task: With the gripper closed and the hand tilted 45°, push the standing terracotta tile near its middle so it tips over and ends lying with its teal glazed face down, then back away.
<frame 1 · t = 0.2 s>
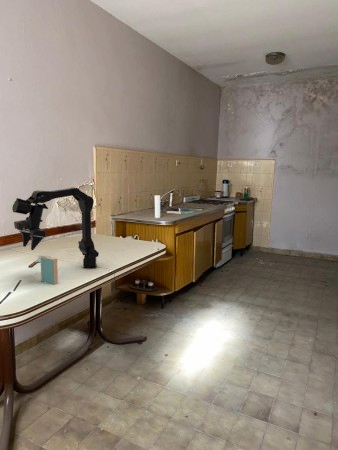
hand: (28, 248, 156), 16 cm above the table, tool pointing down, fingers open, 9 cm apart
glazed tile: (49, 282, 155), on the table
kitchen cleaver: (41, 262, 190), on the table
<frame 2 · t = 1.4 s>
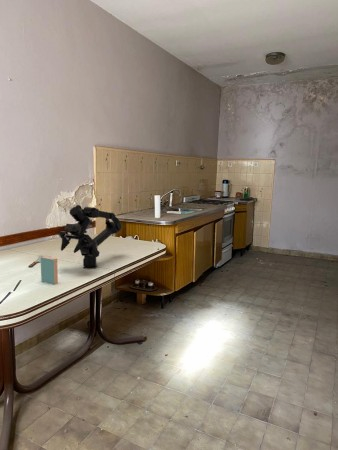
hand: (67, 251, 165), 12 cm above the table, tool tilted 45°, fingers open, 8 cm apart
nothing on the table moved.
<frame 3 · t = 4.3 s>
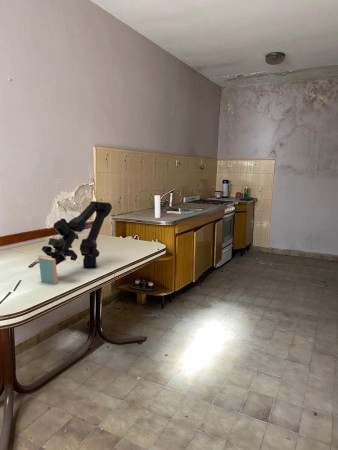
hand: (50, 267, 155), 7 cm above the table, tool tilted 45°, fingers closed
glazed tile: (49, 282, 155), on the table, tilted 5°
everything else where it was.
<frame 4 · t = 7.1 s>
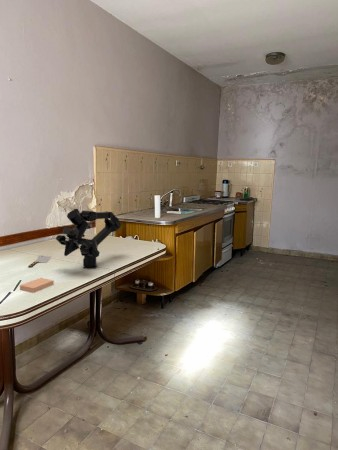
hand: (65, 255, 163), 11 cm above the table, tool tilted 45°, fingers closed
glazed tile: (47, 281, 154), point 1 cm above the table, tilted 90°
everything else where it was.
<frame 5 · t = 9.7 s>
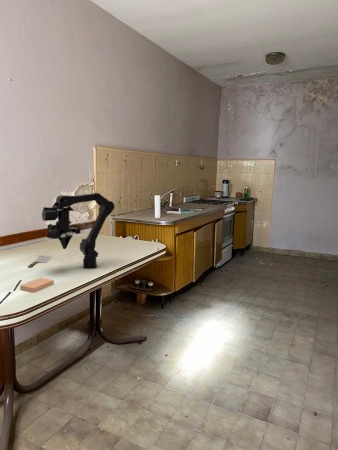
hand: (64, 248, 171), 12 cm above the table, tool pointing down, fingers closed
nothing on the table moved.
at the end: glazed tile tilted 90°; glazed tile moved 1.6 cm from its start; the gripper is holding nothing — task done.
